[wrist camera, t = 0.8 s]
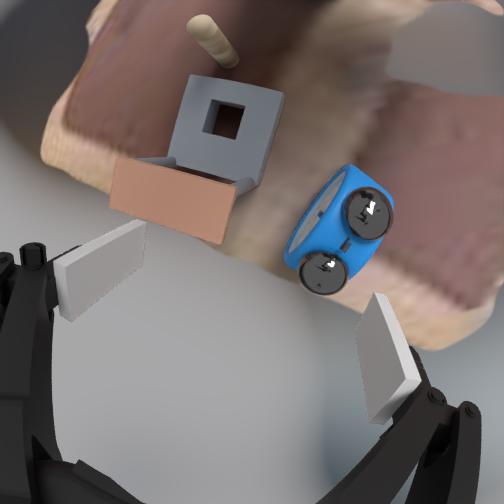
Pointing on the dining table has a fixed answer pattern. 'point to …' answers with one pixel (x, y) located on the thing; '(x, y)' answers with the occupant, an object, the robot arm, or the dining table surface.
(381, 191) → the alarm clock
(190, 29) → the peg
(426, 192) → the dining table surface
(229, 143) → the socket station
